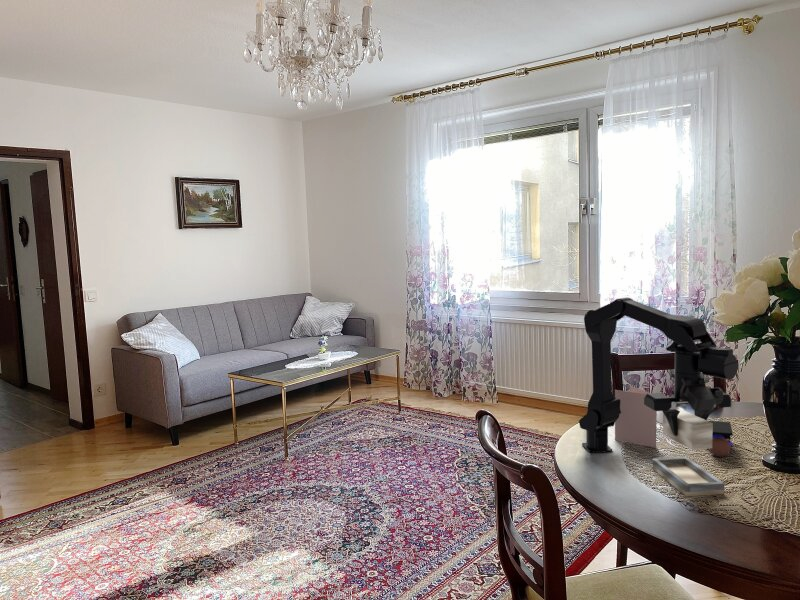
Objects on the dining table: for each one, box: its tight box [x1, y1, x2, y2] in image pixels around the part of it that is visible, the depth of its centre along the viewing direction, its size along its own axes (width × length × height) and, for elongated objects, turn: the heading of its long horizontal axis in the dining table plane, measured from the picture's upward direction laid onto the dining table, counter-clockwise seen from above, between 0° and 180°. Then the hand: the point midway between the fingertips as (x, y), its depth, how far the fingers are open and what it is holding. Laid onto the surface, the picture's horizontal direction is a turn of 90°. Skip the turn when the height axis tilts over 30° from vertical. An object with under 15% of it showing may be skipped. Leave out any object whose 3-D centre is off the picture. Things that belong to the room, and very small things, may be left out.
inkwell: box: [657, 400, 687, 425], centre depth 179 cm, size 9×18×10 cm, turn 174°
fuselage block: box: [662, 408, 713, 451], centre depth 141 cm, size 11×5×6 cm, turn 11°
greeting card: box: [614, 385, 658, 448], centre depth 167 cm, size 11×7×15 cm, turn 16°
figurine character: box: [708, 420, 734, 457], centre depth 161 cm, size 7×8×15 cm
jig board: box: [651, 456, 725, 497], centre depth 142 cm, size 16×9×2 cm, turn 3°
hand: (686, 434), depth 141 cm, fingers closed on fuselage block, 5 cm apart
